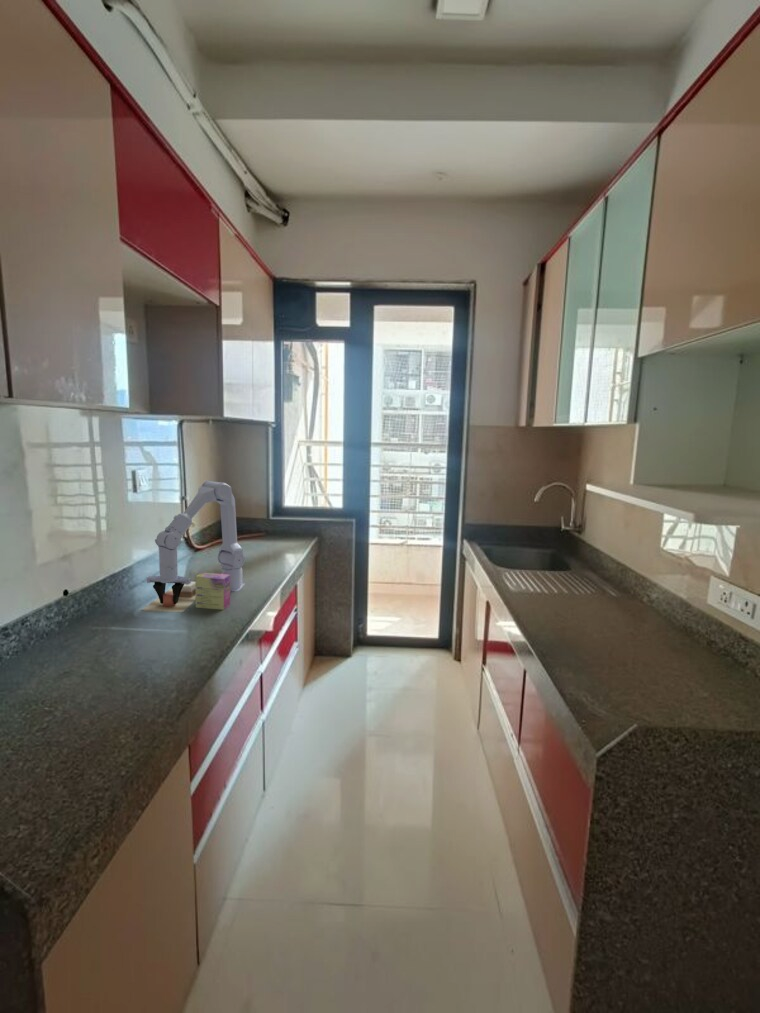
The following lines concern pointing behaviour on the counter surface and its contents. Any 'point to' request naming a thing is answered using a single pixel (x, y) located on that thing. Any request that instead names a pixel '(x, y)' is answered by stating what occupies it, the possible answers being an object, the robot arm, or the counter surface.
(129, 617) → the counter surface
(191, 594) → the bottom block
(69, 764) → the counter surface
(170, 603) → the cylinder
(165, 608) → the board
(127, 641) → the counter surface
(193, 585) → the top block
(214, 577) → the box
